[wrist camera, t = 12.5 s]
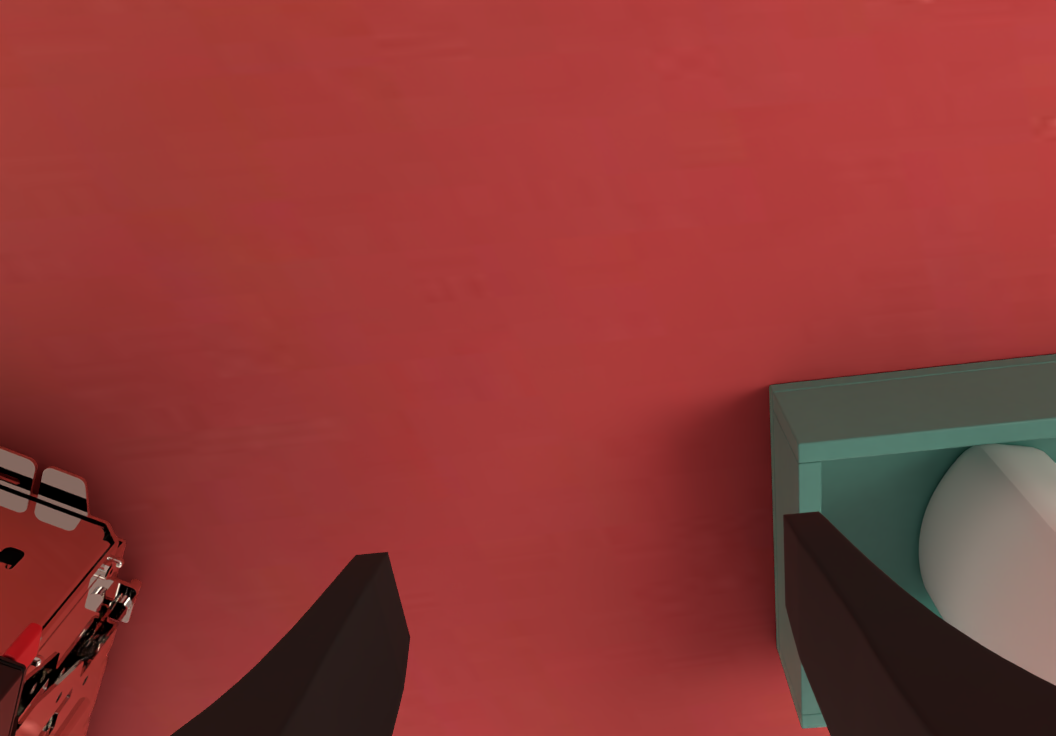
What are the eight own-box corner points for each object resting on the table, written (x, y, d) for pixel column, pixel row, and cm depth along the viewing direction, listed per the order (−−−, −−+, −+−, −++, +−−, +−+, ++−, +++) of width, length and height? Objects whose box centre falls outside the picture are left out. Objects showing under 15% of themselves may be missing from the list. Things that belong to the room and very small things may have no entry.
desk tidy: (1150, 617, 28) (1224, 699, 25) (776, 647, 29) (801, 729, 26) (1209, 336, 24) (1307, 392, 21) (768, 384, 25) (798, 444, 22)
